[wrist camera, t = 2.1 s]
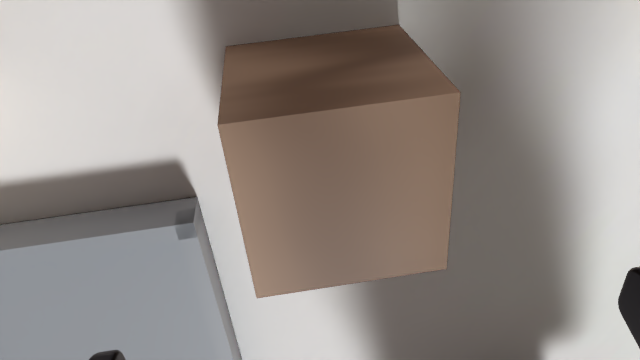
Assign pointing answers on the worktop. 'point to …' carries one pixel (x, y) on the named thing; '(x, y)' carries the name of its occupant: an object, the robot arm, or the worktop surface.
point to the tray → (113, 286)
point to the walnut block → (339, 157)
